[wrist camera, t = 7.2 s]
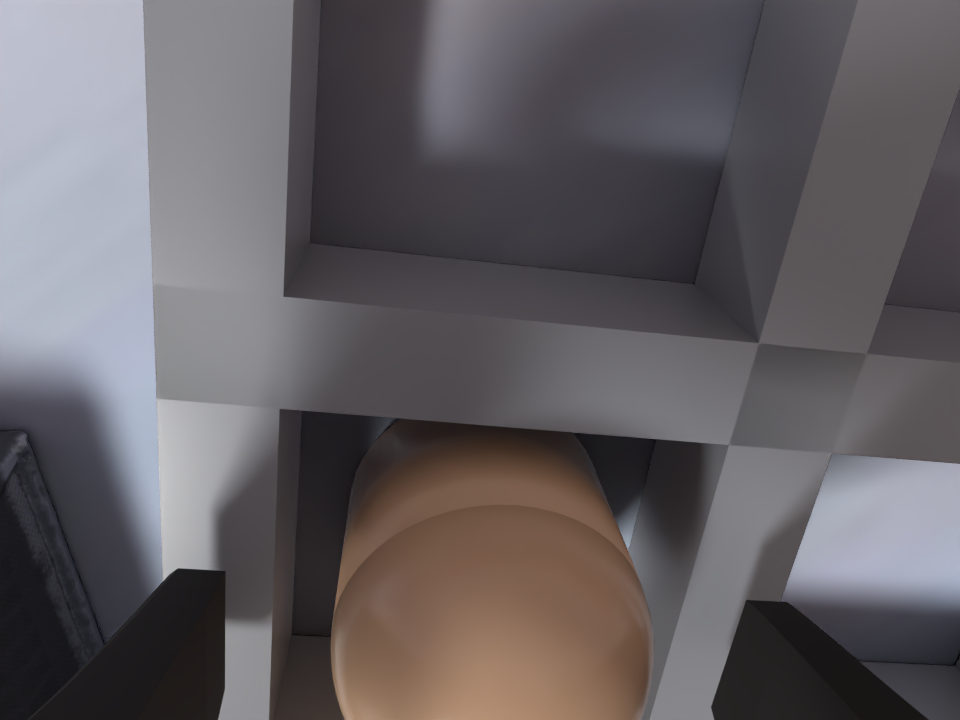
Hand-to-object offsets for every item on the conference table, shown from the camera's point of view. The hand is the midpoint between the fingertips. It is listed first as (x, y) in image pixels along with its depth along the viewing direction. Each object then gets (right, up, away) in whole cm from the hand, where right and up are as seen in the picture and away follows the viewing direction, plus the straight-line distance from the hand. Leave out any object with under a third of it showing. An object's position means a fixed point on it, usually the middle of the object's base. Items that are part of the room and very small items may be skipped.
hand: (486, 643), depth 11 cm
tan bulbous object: (0, +1, +3) cm, 3 cm away
